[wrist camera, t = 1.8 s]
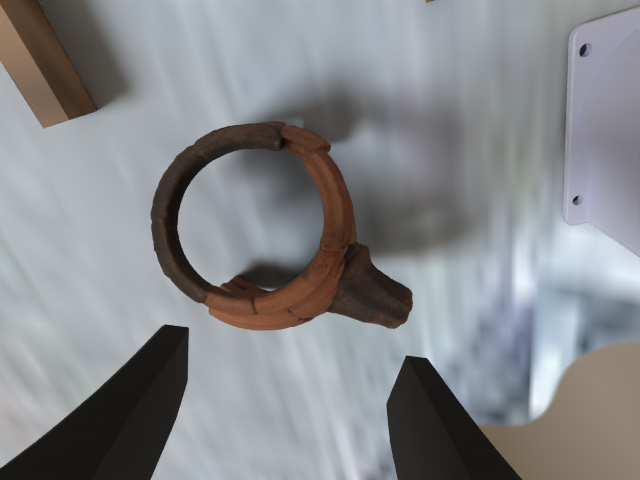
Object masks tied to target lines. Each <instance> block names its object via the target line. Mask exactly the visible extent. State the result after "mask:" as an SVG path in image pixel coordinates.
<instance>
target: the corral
mask: <svg viewBox="0 0 640 480" xmlns="http://www.w3.org/2000/svg"><path fill="white" fill-rule="evenodd" d="M430 1H433V0H426V3H427V2H430ZM0 61H1V63H2V64H3V66H4V67H5V69H6V70H7V72H8V74H9V75H10V77H11V78H12V80H13V81H14V83H15V85H16V86H17V88H18V89H19V91H20V92H21V94H22V96H23V97H24V99H25V100H26V102H27V103H28V105H29V107H30V108H31V110H32V111H33V113H34V114H35V116H36V118H37V119H38V121H39V122H40V124H41V125H42V127H43V129H44V128H47V127H50V126H53V125H56V124H59V123H62V122H65V121H68V120H71V119H74V118H77V117H80V116H83V115H86V114H89V113H92V112H95V111H97V109H96V107H95V105H94V103H93V102H92V100H91V98H90V96H89V94H88V92H87V91H86V89H85V87H84V85H83V83H82V82H81V80H80V78H79V76H78V74H77V73H76V71H75V69H74V67H73V65H72V64H71V62H70V60H69V58H68V56H67V55H66V53H65V51H64V49H63V47H62V46H61V44H60V42H59V40H58V38H57V37H56V35H55V33H54V31H53V29H52V28H51V26H50V24H49V22H48V20H47V19H46V17H45V15H44V13H43V11H42V9H41V8H40V6H39V4H38V2H37V0H0Z"/></svg>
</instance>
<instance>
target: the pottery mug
mask: <svg viewBox="0 0 640 480" xmlns="http://www.w3.org/2000/svg"><path fill="white" fill-rule="evenodd" d="M282 148H283V149H285V150H287V151H289V152H290V153H292V154H294V155H296V156H298V157H299V158H301V159H302V160H303V161H304V168H305V170H306V171H307V173H308V174H309V176H310V177H311V178H312V180H313V181H314V183H315V185H316V186H317V189H318V191H319V193H320V196H321V199H322V203H323V209H324V229H323V234H322V237H321V241H320V247H319V249H318V251H317V253H316V255H315V257H314V258H313V260H312V261H311V263H310V264H309V265H308V266H307V268H306V269H305V270H304V271H303V272H302V273H301V274H300V275H299V276H298V277H297V278H295V279H294V280H292V281H291V282H289V283H288V284H286V285H285V286H282V287H280V288H278V289H276V290H273V291H267V290H264V289H261V288H258V287H256V286H254V285H252V284H250V283H248V282H247V281H245V280H243V279H242V278H241V277H239V276H235V277H234V278H233V279H231V280H230V281H229V282H228V283H223V284H222V285H221V286H220V288H219V287H217V286H213V285H211V284H210V283H208V282H207V281H206V280H204V279H203V278H202V277H201V276H200V275H199V274H198V273H197V272H196V271H195V270H194V269H193V267H192V266H191V264H190V263H189V261H188V260H187V258H186V256H185V254H184V252H183V250H182V247H181V244H180V240H179V235H178V231H177V225H178V212H179V209H180V204H181V201H182V198H183V196H184V193H185V191H186V189H187V187H188V186H189V184H190V182H191V181H192V180H193V178H194V177H195V176H196V175H197V173H198V172H199V171H200V170H201V169H203V168H204V167H205V166H206V165H207V164H209V163H210V162H211V161H213V160H215V159H217V158H219V157H221V156H223V155H225V154H228V153H230V152H233V151H237V150H242V149H268V150H273V151H279V150H281V149H282ZM330 149H331V145H330V144H329V143H328V142H326V141H325V140H323V139H322V138H320V137H318V136H316V135H315V134H313V133H311V132H309V131H307V130H304V129H302V128H299V127H296V126H286V124H284V123H282V122H265V123H256V124H244V125H234V126H227V127H224V128H220V129H218V130H214V131H212V132H210V133H209V134H207V135H205V136H203V137H201V138H200V139H198V140H197V141H196V142H195V144H194V145H192V146H189V147H187V148H186V149H185V150H184V151H183V152H182V153H180V154H179V155H178V156H176V158H175V159H174V161H173V162H172V164H171V165H170V166H169V168H168V169H167V170H166V172H165V173H164V174H163V176H162V178H161V180H160V182H159V185H158V188H157V190H156V192H155V196H154V199H153V206H152V210H151V220H152V224H151V230H152V237H153V241H154V250H155V252H156V254H157V257H158V261H159V263H160V266H161V268H162V270H163V273H164V274H165V275H166V276H167V277H168V278H170V279H171V281H172V282H173V283H174V284H175V285H176V286H177V287H178V288H179V289H180V290H181V291H182V292H183V293H184V294H186V295H187V296H188V297H190V298H191V299H192V300H194V301H195V302H197V303H203V304H205V305H206V306H207V307H209V314H210V315H212V316H214V317H215V318H217V319H219V320H220V321H223V322H225V323H227V324H230V325H233V326H236V327H239V328H244V329H250V330H279V329H285V328H289V327H294V326H298V325H300V324H303V323H306V322H308V321H311V320H312V319H314V317H316V316H318V315H321V314H323V313H325V312H330V313H337V314H341V315H344V316H348V317H350V318H353V319H356V320H359V321H361V322H365V323H373V324H379V325H382V326H385V327H387V328H392V329H395V328H397V327H398V326H400V325H401V324H404V323H405V322H406V321H407V319H408V315H409V312H410V311H411V309H412V305H413V301H412V292H411V290H410V289H409V288H407V287H406V286H404V285H402V284H401V283H399V282H396V281H394V280H393V279H391V278H390V277H388V276H387V275H385V274H384V273H382V272H381V271H380V270H378V269H377V268H376V267H375V266H374V265H373V263H372V262H371V259H370V254H369V248H368V247H367V246H363V245H362V244H359V243H358V242H356V225H355V219H354V214H353V205H352V202H351V198H350V196H349V193H348V190H347V187H346V185H345V182H344V179H343V176H342V174H341V172H340V170H339V169H338V167H337V165H336V164H335V163H334V161H333V160H332V158H331V157H330V156H329V155H328V154H327V153H328V152H329V151H330ZM346 246H348V249H347V251H346V253H345V255H344V248H345V247H346Z"/></svg>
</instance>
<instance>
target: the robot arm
mask: <svg viewBox="0 0 640 480" xmlns="http://www.w3.org/2000/svg"><path fill="white" fill-rule="evenodd" d="M584 44H585V45H586V51H585V53H584V54H583V55H582V56H580V54H579V51H580V48H581V47H582V46H583V45H584ZM576 196H578V199H577V200H576V201H574V202H572V201H573V199H574V198H575V197H576ZM563 220H564V221H565V222H566V223H567V224H568V225H571V226H576V225H580V224H585V223H590V224H591V225H593V226H594V227H596V228H597V229H599V230H600V231H602V232H603V233H604V234H606V235H607V236H609V237H610V238H612V239H613V240H615V241H616V242H618V243H619V244H621V245H622V246H624V247H625V248H627V249H628V250H630V251H631V252H633V253H634V254H636V255H637V256H639V257H640V6H638V7H635V8H632V9H628V10H625V11H622V12H619V13H615V14H612V15H609V16H605V17H602V18H599V19H596V20H592V21H589V22H586V23H583V24H580V25H578V26H577V27H576V28H575V29H574V30H573V31H572V32H571V34H570V37H569V46H568V76H567V107H566V137H565V168H564V198H563ZM188 340H189V328H188V327H181V326H173V325H164V326H162V327H161V328H160V329H159V330H158V331H157V332H156V333H155V334H154V335H153V336H152V337H151V338H150V339H149V340H148V341H147V342H146V344H145V345H144V346H143V347H142V348H141V349H140V350H139V351H138V352H137V353H136V354H135V355H134V356H133V357H132V358H131V359H130V360H129V361H128V362H127V363H126V364H125V365H124V366H122V367H121V368H120V369H119V370H118V371H117V372H116V373H115V374H114V375H113V376H112V377H111V378H110V379H109V380H108V381H106V382H105V383H104V384H103V385H102V386H101V387H100V388H99V389H98V390H97V391H96V392H95V393H93V394H92V395H91V396H90V397H89V398H88V399H86V400H85V401H84V402H83V403H82V404H81V405H79V406H78V407H77V408H76V409H75V410H74V411H73V412H71V413H70V414H69V415H68V416H67V417H66V418H64V419H63V420H62V421H61V422H60V423H58V424H57V425H56V426H55V427H53V428H52V429H51V430H50V431H49V432H47V433H46V434H45V435H44V436H42V437H41V438H40V439H38V440H37V441H36V442H35V443H33V444H32V445H31V446H29V447H28V448H27V449H26V450H24V451H23V452H22V453H20V454H19V455H18V456H16V457H15V458H14V459H12V460H11V461H10V462H8V463H7V464H6V465H4V466H3V467H2V468H0V480H151V477H152V475H153V473H154V470H155V468H156V465H157V463H158V461H159V458H160V456H161V454H162V451H163V449H164V447H165V444H166V442H167V439H168V437H169V435H170V432H171V430H172V427H173V425H174V423H175V420H176V417H177V414H178V411H179V408H180V405H181V401H182V398H183V395H184V391H185V388H186V385H187V381H188ZM387 416H388V427H389V436H390V444H391V449H392V454H393V459H394V464H395V468H396V473H397V478H398V480H522V479H521V478H520V477H519V476H518V474H517V473H516V472H515V471H514V470H513V469H512V467H511V466H510V465H509V464H508V463H507V461H506V460H505V459H504V458H503V457H502V456H501V454H500V453H499V452H498V451H497V450H496V449H495V447H494V446H493V445H492V444H491V443H490V441H489V440H488V439H487V438H486V436H485V435H484V434H483V432H482V431H481V430H480V429H479V427H478V426H477V425H476V423H475V422H474V421H473V419H472V418H471V417H470V416H469V414H468V413H467V412H466V410H465V409H464V408H463V406H462V405H461V404H460V402H459V401H458V400H457V398H456V397H455V396H454V394H453V393H452V391H451V390H450V389H449V387H448V386H447V385H446V383H445V382H444V381H443V379H442V378H441V376H440V375H439V374H438V372H437V371H436V370H435V368H434V367H433V365H432V364H431V363H430V361H429V360H428V359H427V358H421V357H413V356H406V357H405V360H404V362H403V365H402V367H401V370H400V372H399V374H398V377H397V379H396V382H395V384H394V387H393V389H392V391H391V394H390V396H389V399H388V401H387Z"/></svg>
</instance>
